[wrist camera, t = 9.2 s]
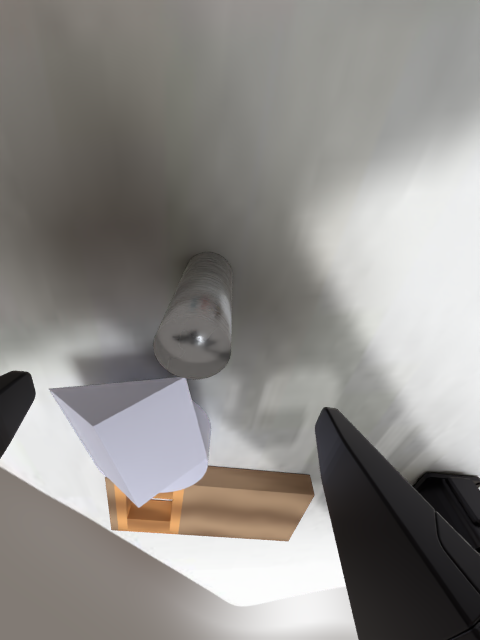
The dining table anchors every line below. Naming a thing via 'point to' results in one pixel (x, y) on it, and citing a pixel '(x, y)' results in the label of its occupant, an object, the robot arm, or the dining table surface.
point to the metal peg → (198, 320)
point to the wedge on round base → (140, 433)
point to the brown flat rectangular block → (220, 506)
